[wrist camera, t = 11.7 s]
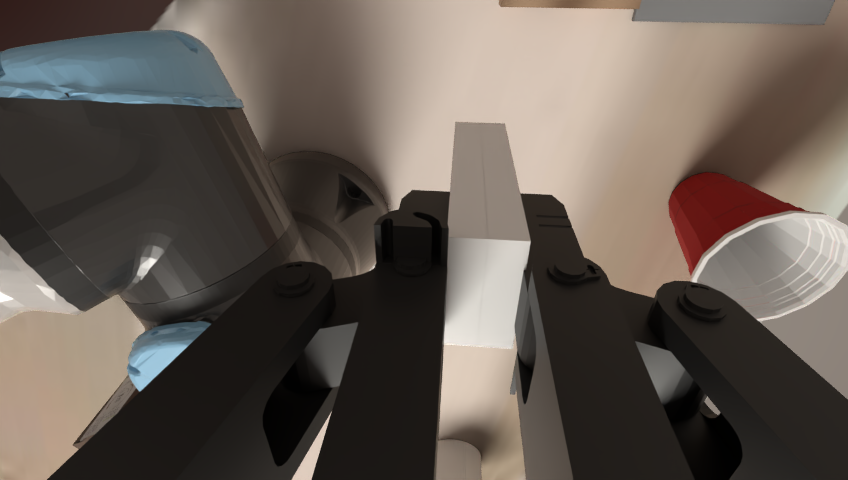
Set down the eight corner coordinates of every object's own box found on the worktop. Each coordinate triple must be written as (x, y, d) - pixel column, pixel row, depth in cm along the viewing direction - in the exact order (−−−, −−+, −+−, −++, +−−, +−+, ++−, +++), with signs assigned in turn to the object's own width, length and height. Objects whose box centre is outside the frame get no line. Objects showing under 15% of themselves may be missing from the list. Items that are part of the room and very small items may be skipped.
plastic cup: (657, 262, 46) (710, 346, 36) (626, 180, 42) (676, 251, 32) (772, 220, 42) (867, 301, 32) (752, 125, 38) (854, 186, 28)
